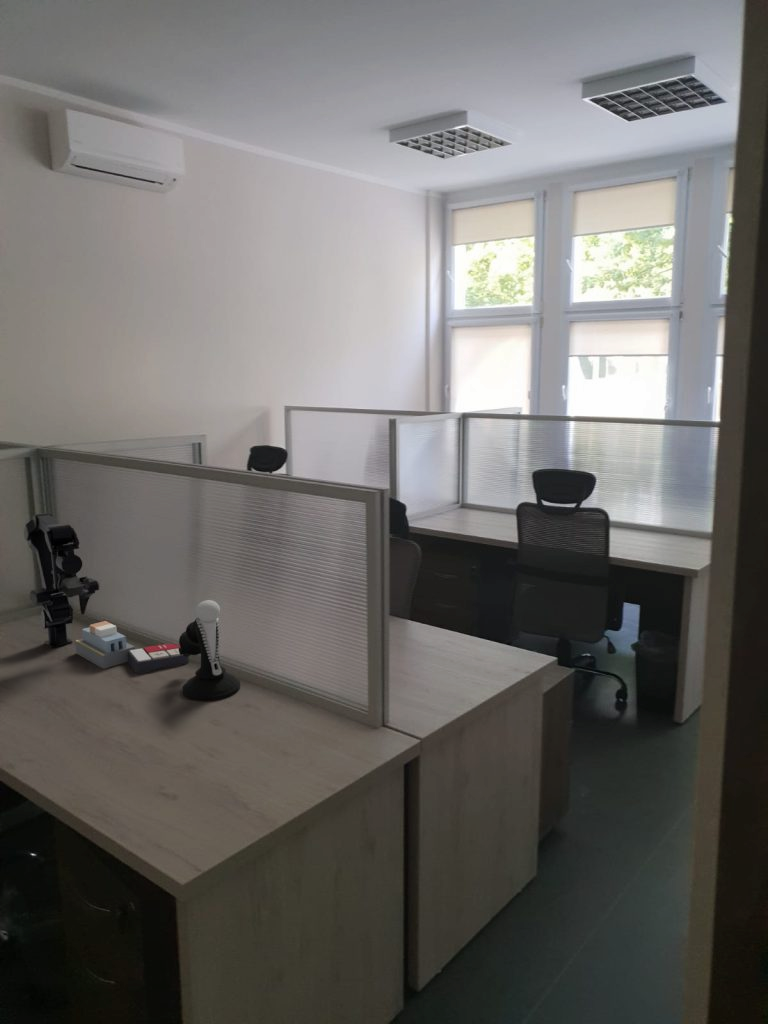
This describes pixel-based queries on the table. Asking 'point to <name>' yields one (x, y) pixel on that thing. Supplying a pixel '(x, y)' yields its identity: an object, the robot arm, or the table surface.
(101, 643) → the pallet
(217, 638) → the sculpture
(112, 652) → the dock
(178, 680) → the table surface
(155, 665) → the grey red white box
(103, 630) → the off-white block
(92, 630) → the salmon brown block
